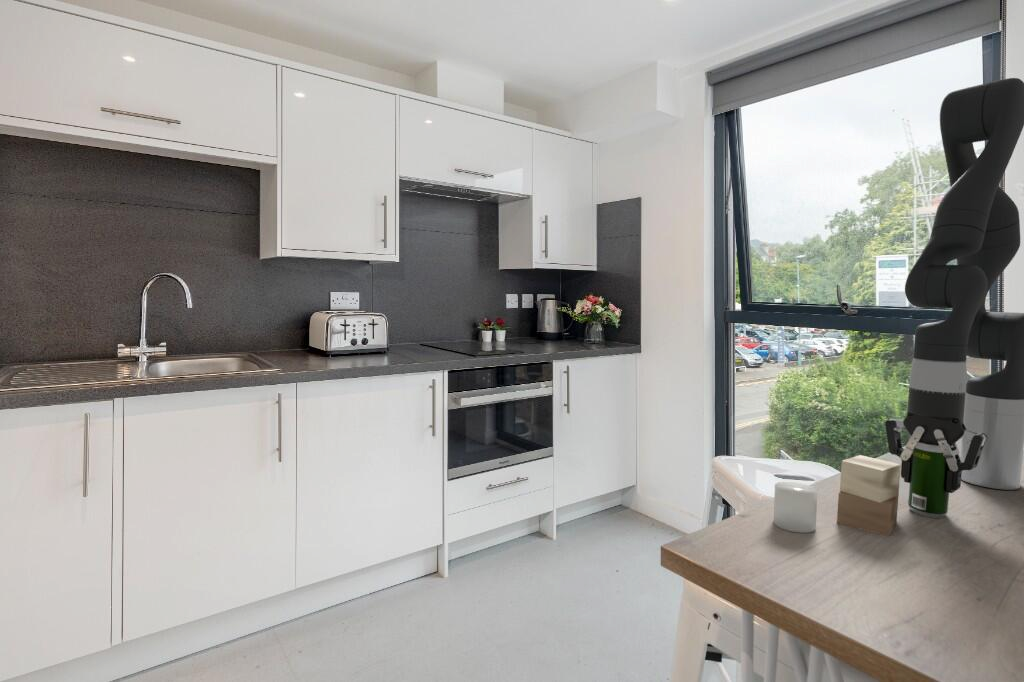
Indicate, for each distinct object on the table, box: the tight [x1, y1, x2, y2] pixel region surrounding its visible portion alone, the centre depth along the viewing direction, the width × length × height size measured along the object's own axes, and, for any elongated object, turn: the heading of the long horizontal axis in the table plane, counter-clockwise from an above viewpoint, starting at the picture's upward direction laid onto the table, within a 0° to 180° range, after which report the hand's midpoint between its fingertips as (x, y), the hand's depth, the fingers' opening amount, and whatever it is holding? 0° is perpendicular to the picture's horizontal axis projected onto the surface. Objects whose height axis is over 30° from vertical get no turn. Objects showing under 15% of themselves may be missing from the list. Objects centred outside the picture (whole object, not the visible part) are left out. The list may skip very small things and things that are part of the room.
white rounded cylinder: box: [773, 481, 818, 534], centre depth 90 cm, size 6×6×6 cm
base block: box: [836, 490, 900, 537], centre depth 91 cm, size 7×7×5 cm
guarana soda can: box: [907, 441, 952, 519], centre depth 96 cm, size 5×5×12 cm
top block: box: [839, 454, 902, 503], centre depth 91 cm, size 6×6×5 cm
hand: (929, 486), depth 96 cm, fingers closed on guarana soda can, 5 cm apart
